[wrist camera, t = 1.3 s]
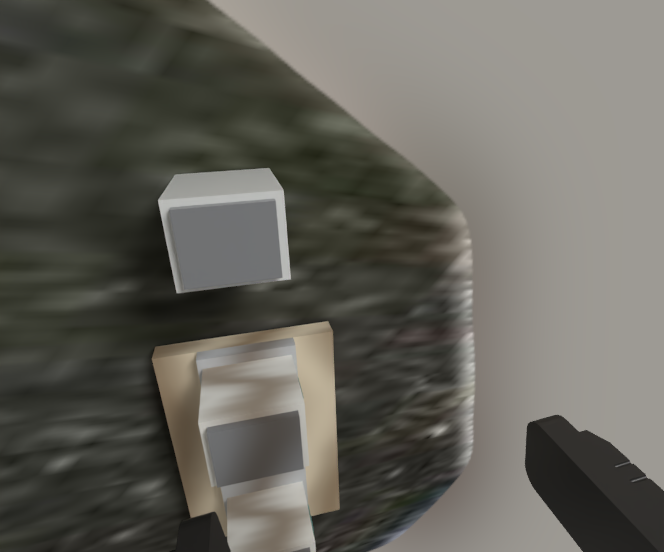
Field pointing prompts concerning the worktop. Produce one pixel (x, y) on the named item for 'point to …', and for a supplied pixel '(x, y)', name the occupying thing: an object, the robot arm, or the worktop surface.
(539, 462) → the robot arm
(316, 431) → the rail board
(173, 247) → the block
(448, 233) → the worktop surface
